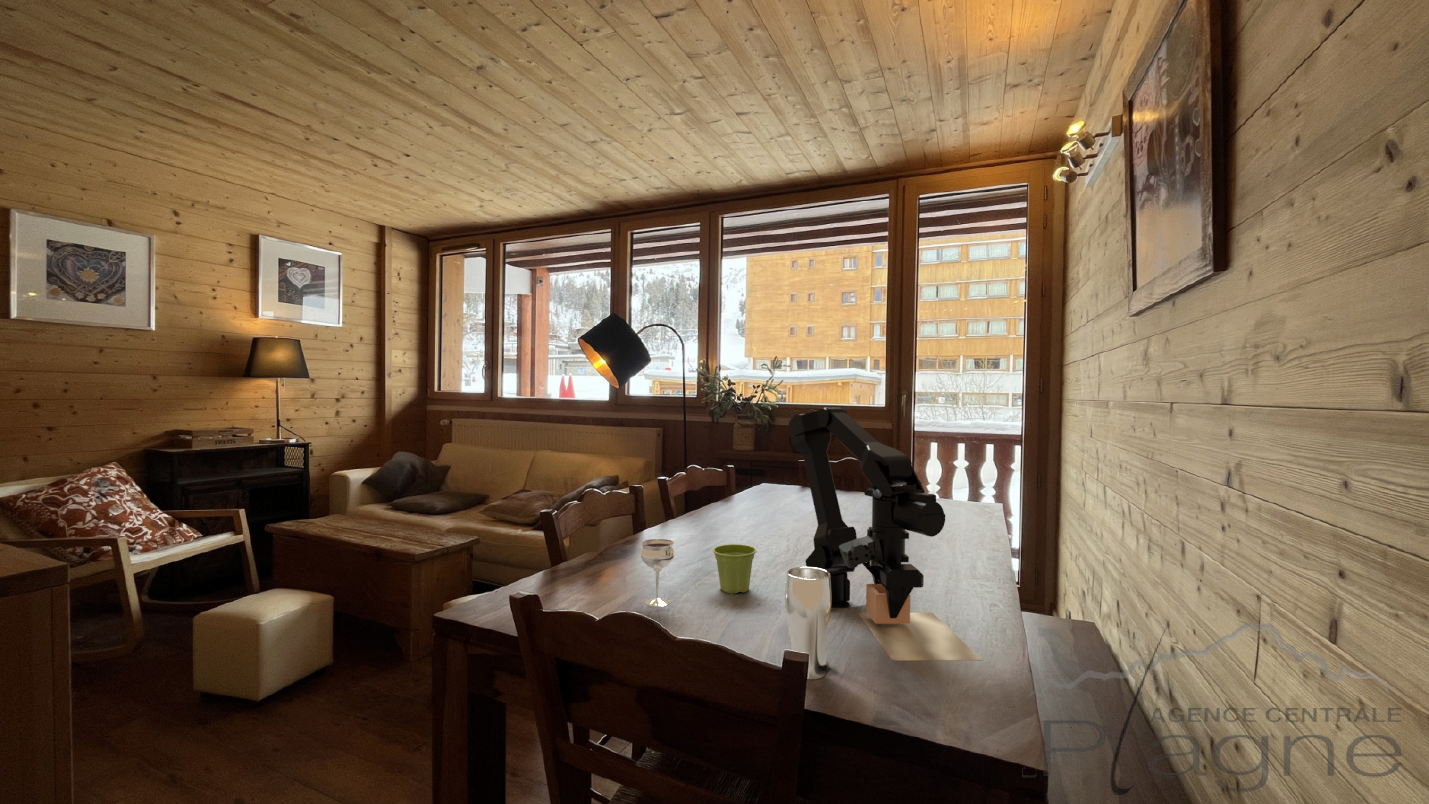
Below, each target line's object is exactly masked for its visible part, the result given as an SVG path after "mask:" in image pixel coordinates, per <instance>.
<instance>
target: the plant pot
mask: <svg viewBox="0 0 1429 804" xmlns="http://www.w3.org/2000/svg"><path fill="white" fill-rule="evenodd" d="M712 552H713V553H714V558H715V560H716V565H717V572H718V580H719V587H720V590H721V591H722V592H724V593H726V594H727V593H728V594H737V593H739V592H740V593H745V592H747V591H749V589H750V582H751V574H752V567H753V566H752V565H753V560H754V559H755V554H756V553H757V548H756V547H754V546H751V545H746V544H739V543H737V544H736V543H735V544H733V543H730V544H722V545H721V544H720V545H718V546H714V547H713V548H712Z"/></svg>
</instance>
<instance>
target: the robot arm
mask: <svg viewBox="0 0 1429 804" xmlns="http://www.w3.org/2000/svg"><path fill="white" fill-rule="evenodd" d="M787 425H788V426H787V427H788V432H789V436H790V439H791V442H792V445H793V446H794V448H795V449H796V450H797V451H798V452H799V454H800V455H801V456H802V457H803V461H804V465H805V469H806V470H805V471H806V474H807V479H808V484H809V489H810V493H811V498H812V502H813V506H814V507H813V508H814V511H815V516H816V521H817V522H816V523H817V528H816V530H815V534H814V536H813V549H814V550H813V551H812V552H811V553H810V554H809V555H808V557H807V558H806V559H805V567H815V568H820V569H824V570H826V571H828V572H829V573H830V582H831V608H833V607H834V608H835V607H836V608H838V607H839V608H840V607H842V608H843V607H845V608H847V607H850V606H851V605H850V602H849V601H850V600H851V580H850V579H849V577H848V573H854V572H855V569H856V568H857V567H858V566H860V565H861V564H862V566H863V567H865V569H866V570H868V571H869V573H870V574H871V577H872V580H873V584H882V585H883V586H884V587H885V589H886V596H887V603H888V610H889V615H890V618H897V616H898V614H899V612H900V610H901V609H902V607H903V605H904V603H905V601H906V599H907V598H908V596H909V594H910V595H911V593H912V591H913V589H914V588H917V589H918V588H919V589H920V588H923V587H924V576H925V575H924V574H923V573H922V572H921V571H920V570H919V569H918V568H917V567H916V566H915V565H913V564H911V563H909V562H910V559H909V558H910V557H909V555H907V554H906V540H909V539H910V532H912V533H916V534H918V535H924V536H927V537H930V538H931V537H933V538H934V537H936V536H938V534H940V533H941V532H942V530H943V528H944V526H945V523H946V514H945V511H944V508H943V507H942V505H941V504H940V503H939V502H937V495H936V494H934V493H926V492H925V489H924V487H923V485H922V482H921V481H920V479H919V477H918V474H917V473H916V471H915V469H914V467H913V464H912V463H913V462H912V459H911V458H910V457H909V456H908V455H906V454H905V453H903V452H901V451H900V450H898V449H896V448H895V447H892V446H888V445H885V444H883V443H881V442H880V441H878V440H877V439H876V438H875V437H873V436H872V434H870V433H869V432H868V431H867V430H866V429H865V428H863V427H862V425H860V424H859V423H858V422H857V421H855V419H854V418H852V417H851V416H850V415H849V414H848V411H847V410H846V409H845V408H842V407H838V406H837V407H823V408H822V409H819V410H816V411H811V412H809V413H796V414H794V415H793V416H792V418H791V419H790V420H789V423H788V424H787ZM832 435H833V436H834V437H835V438H836V439H837V440H838V441H839V442H840V443H841V444H842V445H843V446H844V447H845V448H847V450H848V451H849V452H850V453H852V455H854V456H855V458H857V459H858V461H859V462H860V471H861V472H862V473H863V475H864V477H865V478H866V479H867V480H868V482H869V483H870V484H871V486H870V487H869V488H866V489H865V491H864V493H863V494H864V495H865V496H867V497H871V498H872V499H871V500H872V501H871V502H872V503H871V504H872V509H871V510H872V511H871V517H872V518H871V526H869V527H868V528H867V530H866V532H867V533H866V536H862V537H857V530H856V529H855V527H854V526H848V525H847V524H846V522H845V521H844V519H843V517H842V512H841V507H840V504H839V499H838V496H837V495H838V494H837V490H836V487H835V482H834V479H833V472H832V469H831V463H830V460H829V456H828V449H829V447H830V444H831V441H832ZM908 531H909V532H908Z"/></svg>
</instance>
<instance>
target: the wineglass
mask: <svg viewBox="0 0 1429 804" xmlns="http://www.w3.org/2000/svg"><path fill="white" fill-rule="evenodd" d="M674 544H675V541H673V540H671V539H665V538H651V539H646V540H643V541H641V543H640V546H641V547H642V548H641V550H640V558H641V561H642V562H643V563H644V564H645V565H646V566H647V567H648V568H651V569H653V572H655V590H656V591H655V592H656V593H655V595H656V596H655V597H652V598H649V599H647V600H645V602H644V604H645V605H646V606H648V607H649V606H650V607H655V608H657V607H658V608H659V607H664V606H668V605H669V604H670V600H669V599H667V598H663V597H659V592H660V591H659V588H660V586H659V585H660V572H661V571H662V569H664V568H666V567H668V566H669V565H670V564H671V563H672V562H673V560H674V558H675V549H674V548H673V546H674Z"/></svg>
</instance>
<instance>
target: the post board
mask: <svg viewBox="0 0 1429 804" xmlns="http://www.w3.org/2000/svg"><path fill="white" fill-rule="evenodd" d="M858 615H859V617H860V618H861V620H863V622H864V623H865V625H866V627H867V628H868V629H869V631H870V632H871V633H872V635H873V636H874V638H876V640H877V642H878V643H879V644H880V646H881V647H882V649H883V650H884V652H885V653H886V654H887V656H888V658H890V661H892V662H893V661H896V662H897V661H899V662H900V661H901V662H902V661H905V662H907V661H910V662H911V661H983V659H982V658H981V657H980V656H979V655H978V654H977V653H976V652H975V651H973V649H971V647H969V645H967V644H966V643H965V642H964V641H963V640H962V639H961V638H960V637H959V636H958V635H956V633H954V631H952V630H951V629H950V628H949V627H948V626H947V625H946V624H945V623H944V622H943V621H942V620H941V619H940V618H939V617H938V616H936V615H935V613H933V612H931V611H930V612H928V611H927V612H910V624H876V623H875V622H874V621H873V620H872V618H871V617H870V616H869V614H868V613H867V612H858Z"/></svg>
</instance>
